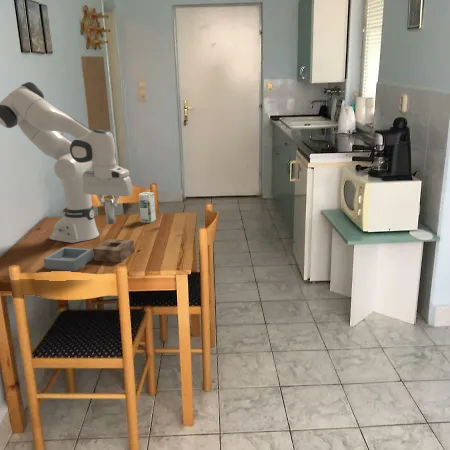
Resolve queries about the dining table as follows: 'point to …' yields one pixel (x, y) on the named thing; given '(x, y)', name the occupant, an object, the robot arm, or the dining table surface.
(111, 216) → the metal pin
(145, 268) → the dining table surface
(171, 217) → the dining table surface
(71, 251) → the grey tray
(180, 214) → the dining table surface
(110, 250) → the walnut block
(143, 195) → the syrup box
